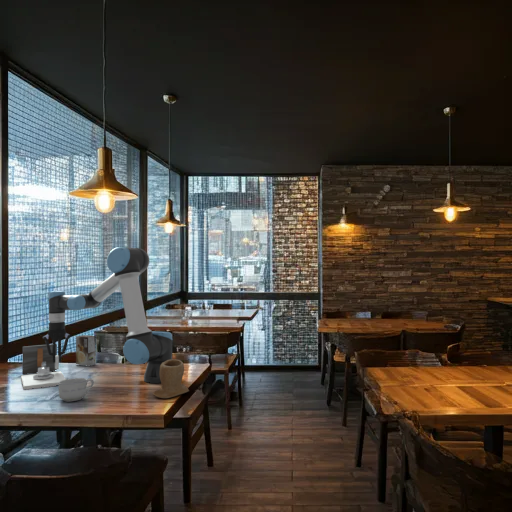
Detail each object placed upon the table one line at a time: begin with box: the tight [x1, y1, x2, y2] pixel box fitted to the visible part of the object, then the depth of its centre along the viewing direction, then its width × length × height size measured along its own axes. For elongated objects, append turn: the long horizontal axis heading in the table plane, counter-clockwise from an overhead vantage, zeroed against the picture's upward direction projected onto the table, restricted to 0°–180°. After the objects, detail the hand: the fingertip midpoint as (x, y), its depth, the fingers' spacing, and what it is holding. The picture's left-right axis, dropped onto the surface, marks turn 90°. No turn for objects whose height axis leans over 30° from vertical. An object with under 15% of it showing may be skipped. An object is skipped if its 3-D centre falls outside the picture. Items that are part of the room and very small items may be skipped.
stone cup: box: [153, 358, 190, 399], centre depth 191 cm, size 15×12×15 cm
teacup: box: [58, 377, 95, 403], centre depth 186 cm, size 14×11×8 cm
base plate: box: [20, 371, 67, 390], centre depth 217 cm, size 25×18×2 cm
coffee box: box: [75, 334, 97, 367], centre depth 255 cm, size 9×6×16 cm
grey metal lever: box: [33, 362, 54, 379], centre depth 222 cm, size 19×9×5 cm, turn 25°
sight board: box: [21, 343, 58, 375], centre depth 235 cm, size 2×16×14 cm, turn 120°
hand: (56, 368), depth 228 cm, fingers closed
